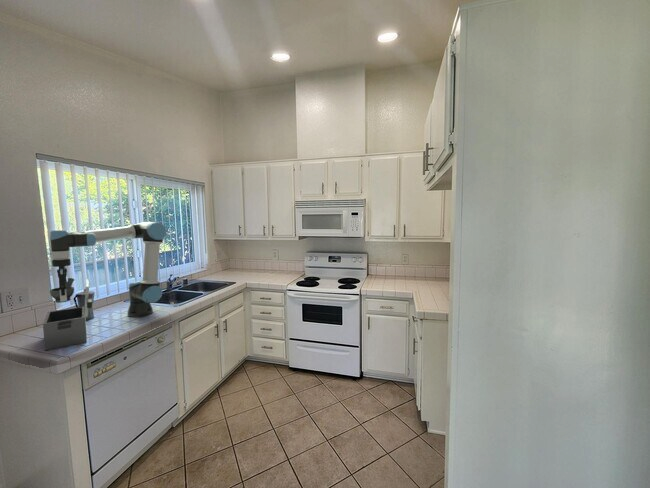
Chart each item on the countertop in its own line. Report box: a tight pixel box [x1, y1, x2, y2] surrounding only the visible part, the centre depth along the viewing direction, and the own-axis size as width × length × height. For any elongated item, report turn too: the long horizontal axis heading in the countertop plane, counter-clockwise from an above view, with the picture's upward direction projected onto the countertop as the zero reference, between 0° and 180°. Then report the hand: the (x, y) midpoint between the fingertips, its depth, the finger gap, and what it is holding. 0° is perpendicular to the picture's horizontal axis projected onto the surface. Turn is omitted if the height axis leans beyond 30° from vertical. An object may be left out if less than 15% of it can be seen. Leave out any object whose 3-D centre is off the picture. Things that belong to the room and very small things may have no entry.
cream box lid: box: [84, 278, 93, 317], centre depth 166 cm, size 16×34×3 cm
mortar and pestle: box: [49, 277, 75, 304], centre depth 163 cm, size 11×9×12 cm
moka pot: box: [73, 288, 95, 321], centre depth 197 cm, size 10×15×20 cm, turn 2°
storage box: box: [42, 306, 88, 352], centre depth 162 cm, size 16×30×14 cm, turn 39°
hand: (64, 299), depth 163 cm, fingers closed on mortar and pestle, 9 cm apart
